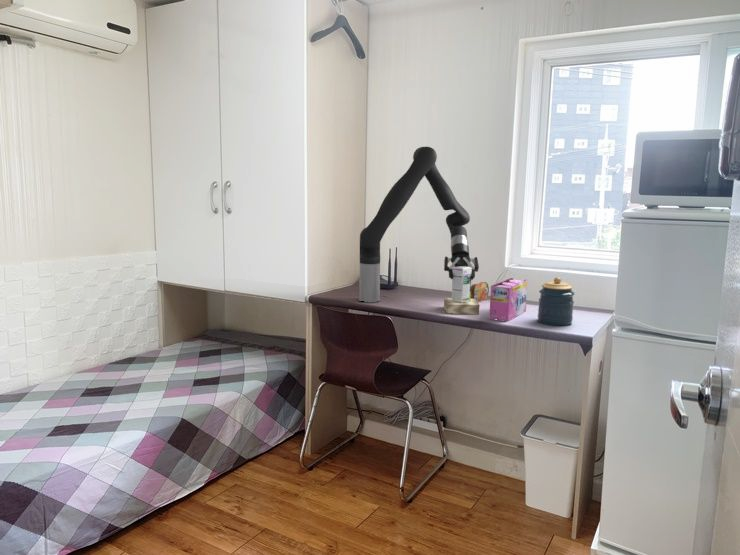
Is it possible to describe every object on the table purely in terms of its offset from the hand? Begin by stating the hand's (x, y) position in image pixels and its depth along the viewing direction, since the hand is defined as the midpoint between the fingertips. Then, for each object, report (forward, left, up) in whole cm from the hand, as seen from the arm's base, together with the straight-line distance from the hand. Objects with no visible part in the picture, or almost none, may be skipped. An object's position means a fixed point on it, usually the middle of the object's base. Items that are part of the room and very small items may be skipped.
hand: (462, 278), depth 230 cm
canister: (+34, -16, -14) cm, 40 cm away
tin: (+11, +23, -14) cm, 29 cm away
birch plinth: (0, +1, -14) cm, 14 cm away
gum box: (+18, -6, -14) cm, 24 cm away
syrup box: (0, +1, -10) cm, 10 cm away
